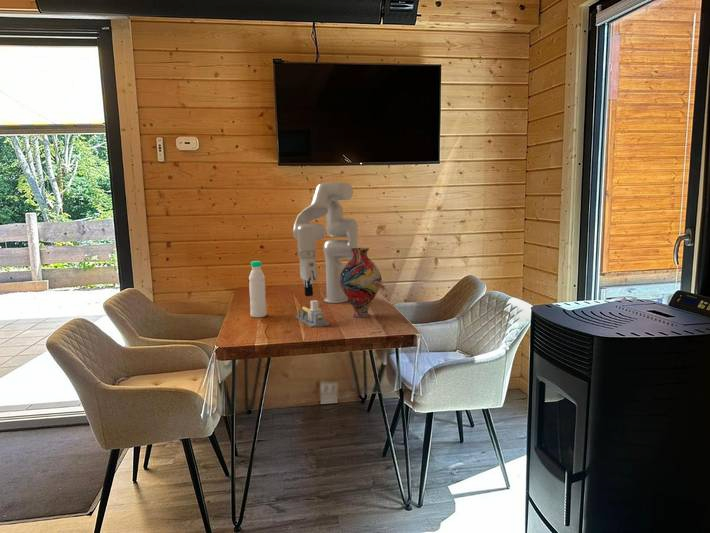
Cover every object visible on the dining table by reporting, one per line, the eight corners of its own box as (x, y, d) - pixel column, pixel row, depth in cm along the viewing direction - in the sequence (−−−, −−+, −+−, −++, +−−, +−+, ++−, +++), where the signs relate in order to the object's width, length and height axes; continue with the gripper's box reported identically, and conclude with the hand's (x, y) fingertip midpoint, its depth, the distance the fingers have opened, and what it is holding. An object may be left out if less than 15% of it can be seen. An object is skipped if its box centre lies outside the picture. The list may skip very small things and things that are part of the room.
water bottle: (269, 315, 219) (267, 260, 216) (259, 318, 213) (256, 262, 210) (257, 313, 223) (255, 260, 219) (247, 316, 217) (244, 261, 213)
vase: (344, 321, 204) (342, 251, 200) (336, 312, 223) (335, 247, 219) (387, 318, 208) (386, 249, 204) (376, 309, 226) (375, 246, 222)
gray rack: (295, 317, 214) (295, 305, 213) (312, 315, 217) (312, 304, 216) (311, 327, 196) (310, 314, 195) (329, 325, 199) (329, 312, 199)
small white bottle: (308, 319, 204) (307, 300, 203) (318, 318, 206) (317, 299, 205) (311, 321, 200) (310, 302, 199) (321, 320, 202) (321, 301, 201)
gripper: (321, 255, 202) (323, 298, 205) (309, 251, 215) (311, 291, 218) (304, 257, 198) (306, 300, 201) (293, 252, 212) (295, 293, 215)
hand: (308, 295), depth 210 cm, fingers closed
